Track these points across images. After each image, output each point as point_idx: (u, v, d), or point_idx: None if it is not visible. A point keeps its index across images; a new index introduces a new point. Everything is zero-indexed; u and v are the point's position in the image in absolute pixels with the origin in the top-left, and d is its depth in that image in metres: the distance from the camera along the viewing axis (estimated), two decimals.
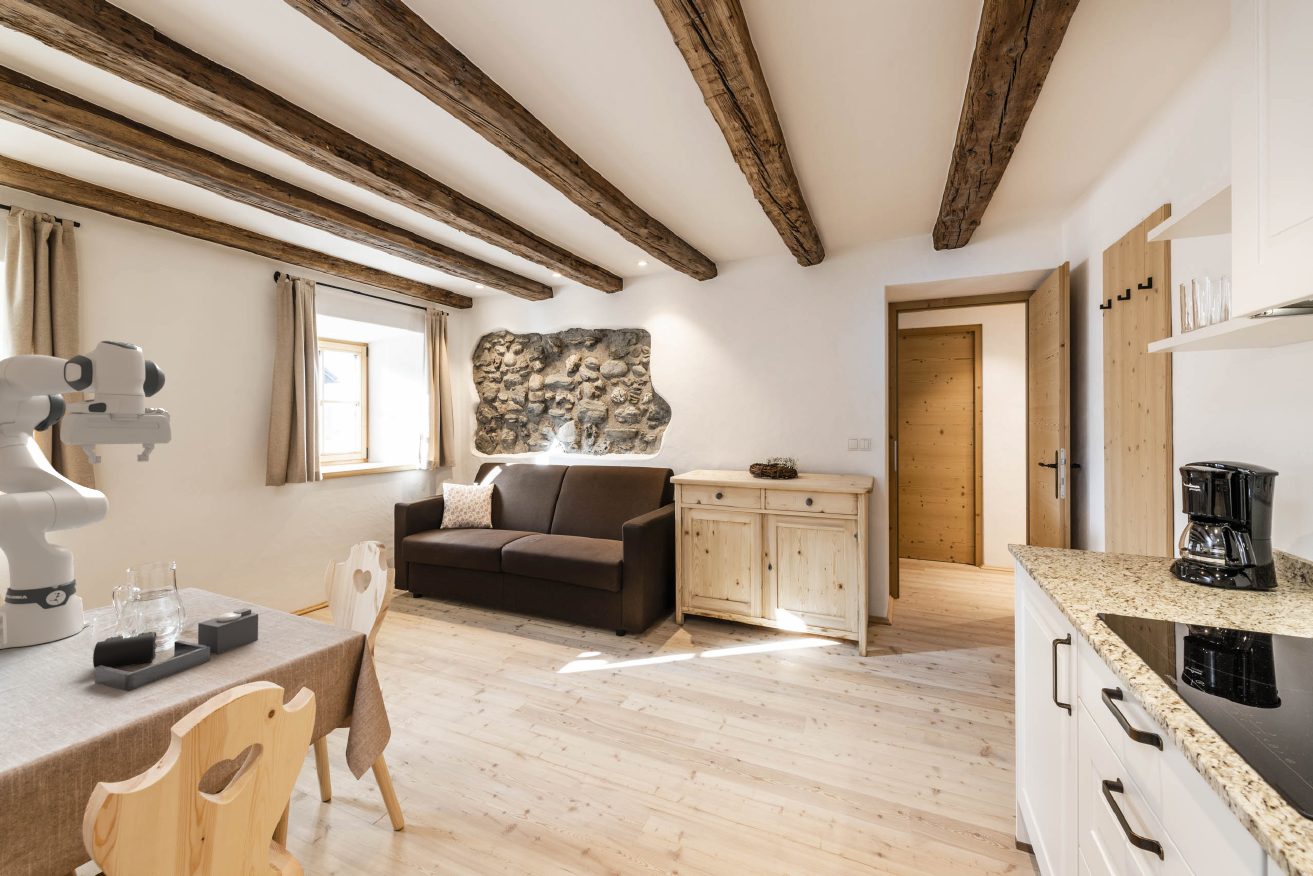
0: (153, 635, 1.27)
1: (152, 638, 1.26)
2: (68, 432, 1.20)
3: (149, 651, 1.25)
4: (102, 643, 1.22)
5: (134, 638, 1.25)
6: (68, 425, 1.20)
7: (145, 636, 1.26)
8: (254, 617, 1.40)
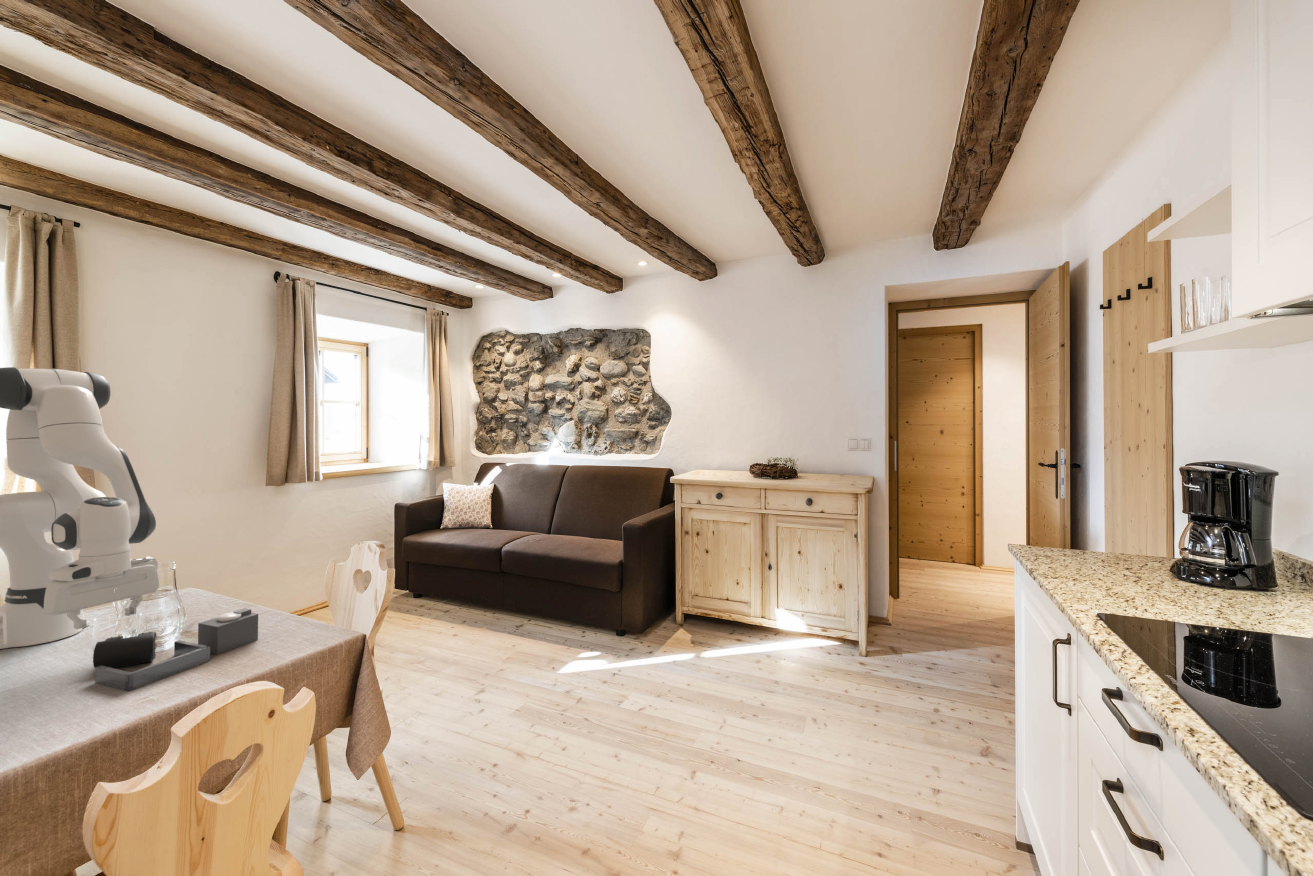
0: (153, 635, 1.27)
1: (152, 638, 1.26)
2: (51, 604, 1.17)
3: (149, 651, 1.25)
4: (102, 643, 1.22)
5: (134, 638, 1.25)
6: (51, 596, 1.18)
7: (145, 636, 1.26)
8: (254, 617, 1.40)
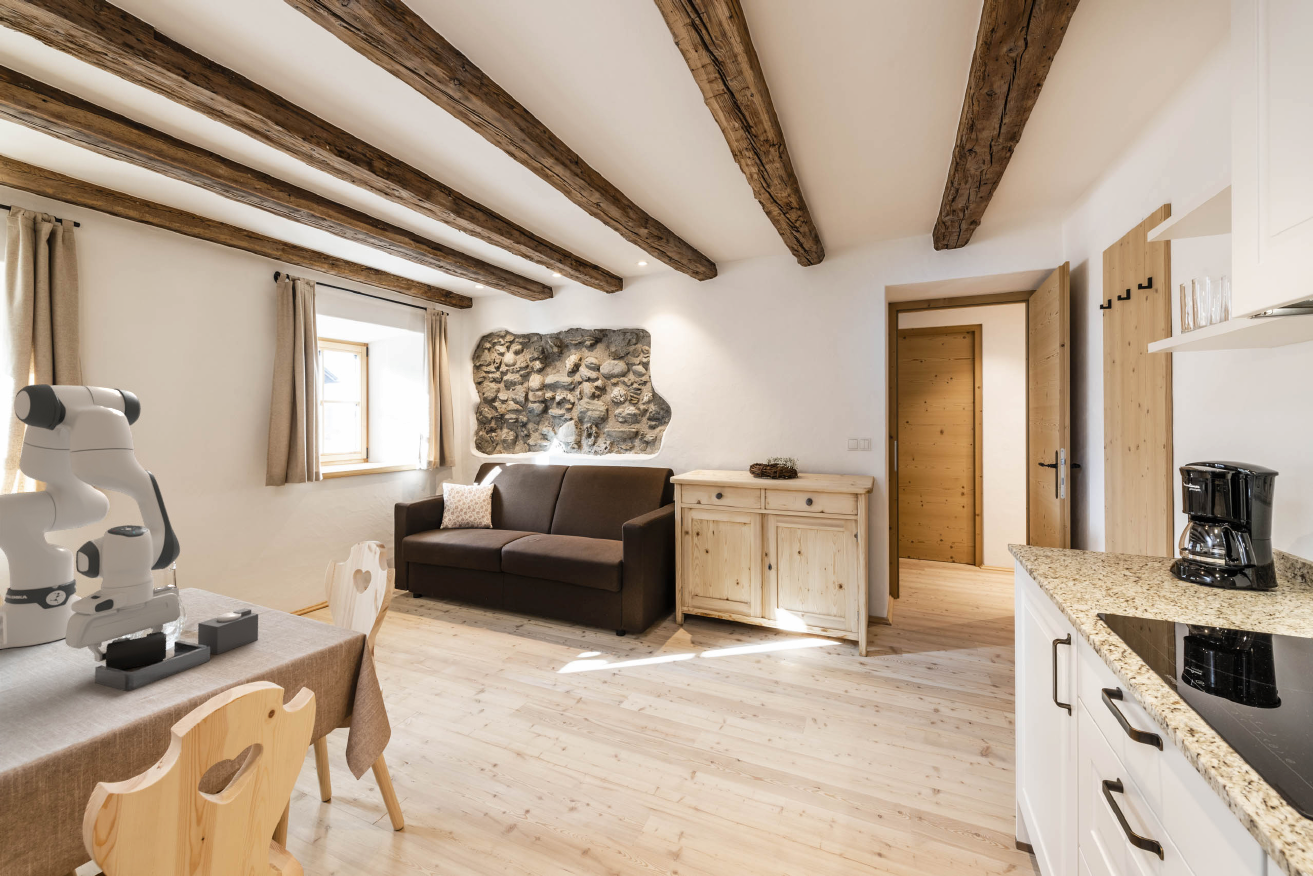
0: (164, 634, 1.27)
1: (164, 637, 1.26)
2: (74, 637, 1.15)
3: (162, 650, 1.25)
4: (113, 644, 1.21)
5: (145, 638, 1.25)
6: (73, 629, 1.15)
7: (156, 636, 1.26)
8: (254, 617, 1.40)
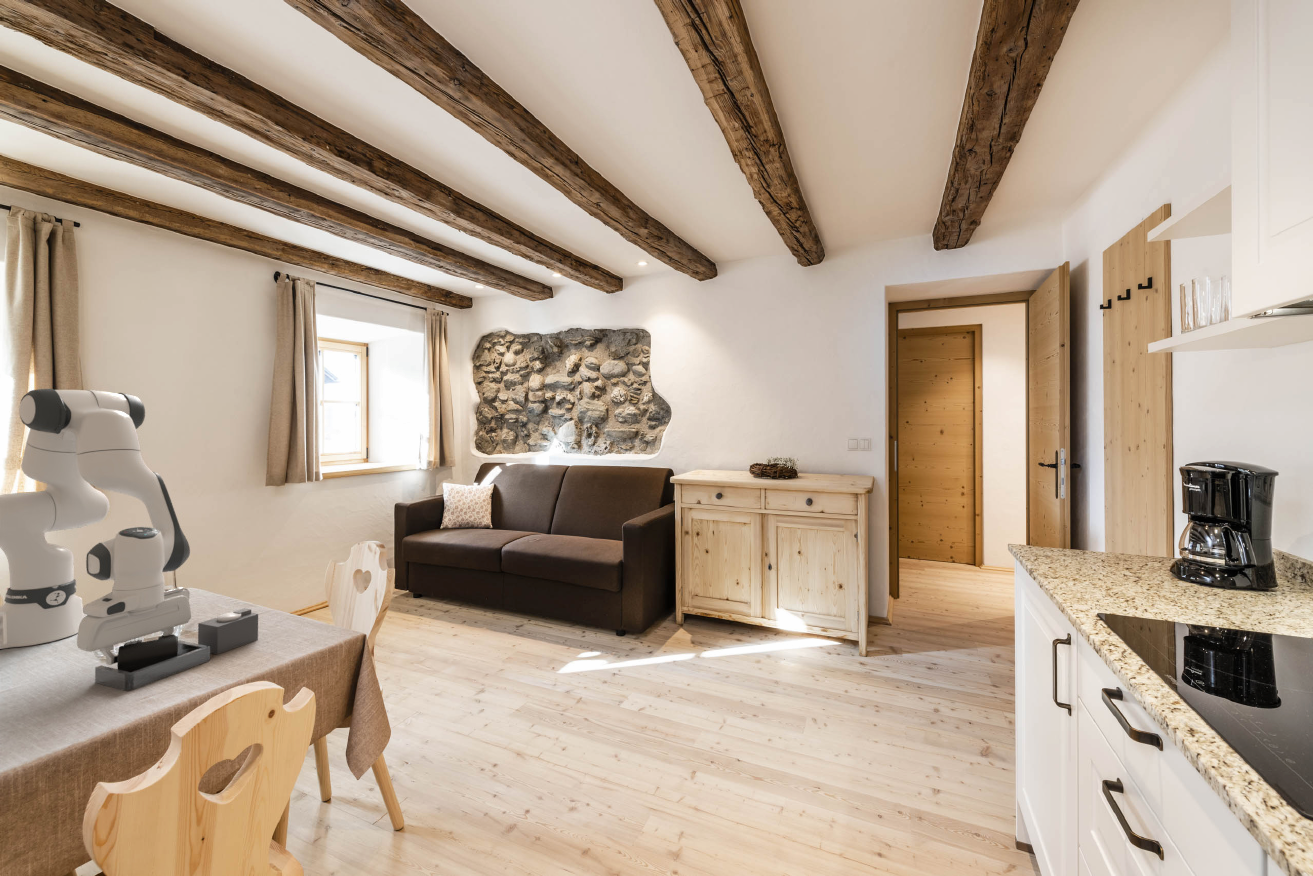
0: (176, 637, 1.26)
1: (176, 640, 1.25)
2: (85, 640, 1.14)
3: (174, 653, 1.24)
4: (125, 647, 1.20)
5: (157, 641, 1.24)
6: (85, 632, 1.14)
7: (168, 639, 1.25)
8: (254, 617, 1.40)
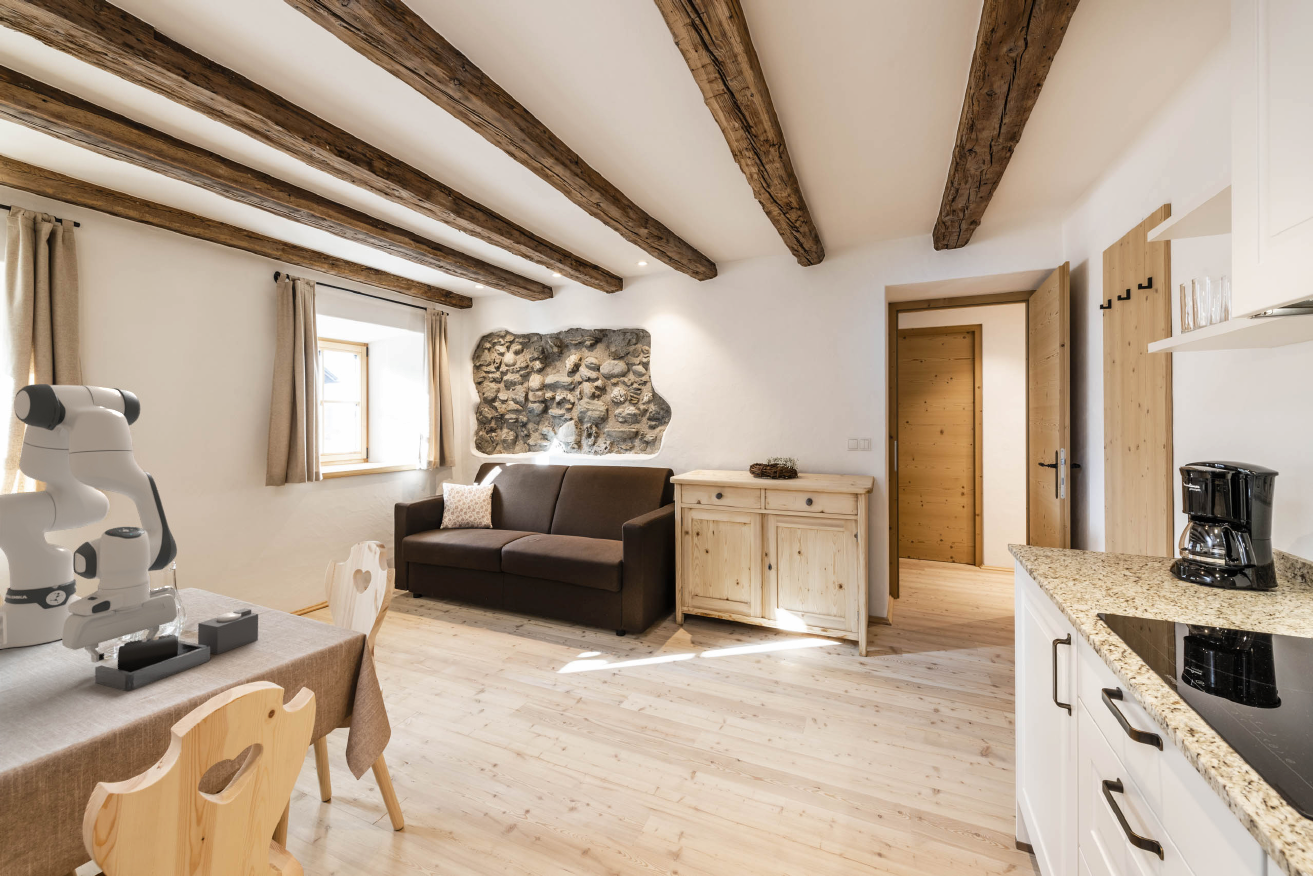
0: (176, 637, 1.26)
1: (176, 640, 1.25)
2: (70, 638, 1.16)
3: (174, 653, 1.24)
4: (125, 647, 1.20)
5: (157, 641, 1.24)
6: (70, 630, 1.16)
7: (168, 639, 1.25)
8: (254, 617, 1.40)
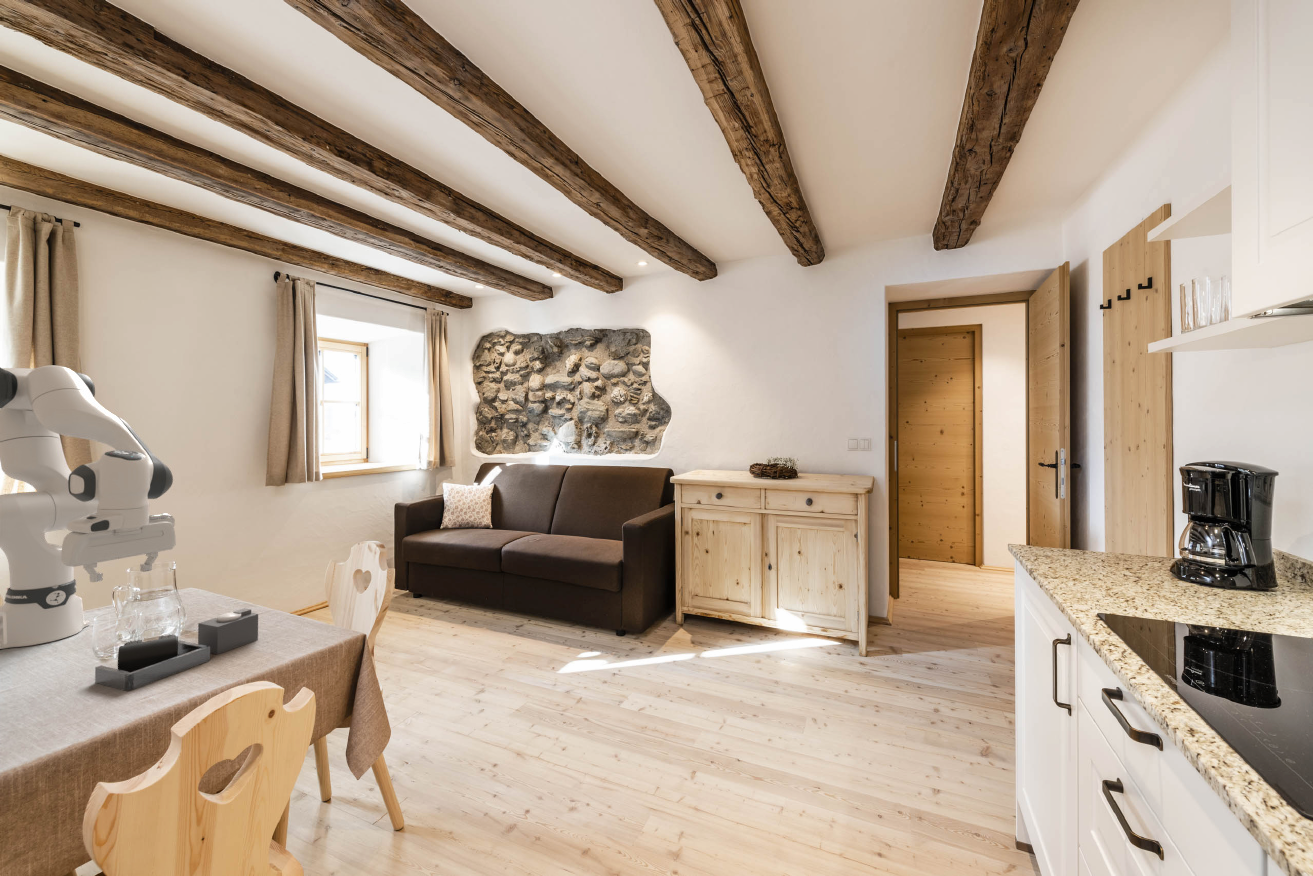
0: (176, 637, 1.26)
1: (176, 640, 1.25)
2: (69, 555, 1.16)
3: (174, 653, 1.24)
4: (125, 647, 1.20)
5: (157, 641, 1.24)
6: (69, 547, 1.16)
7: (168, 639, 1.25)
8: (254, 617, 1.40)
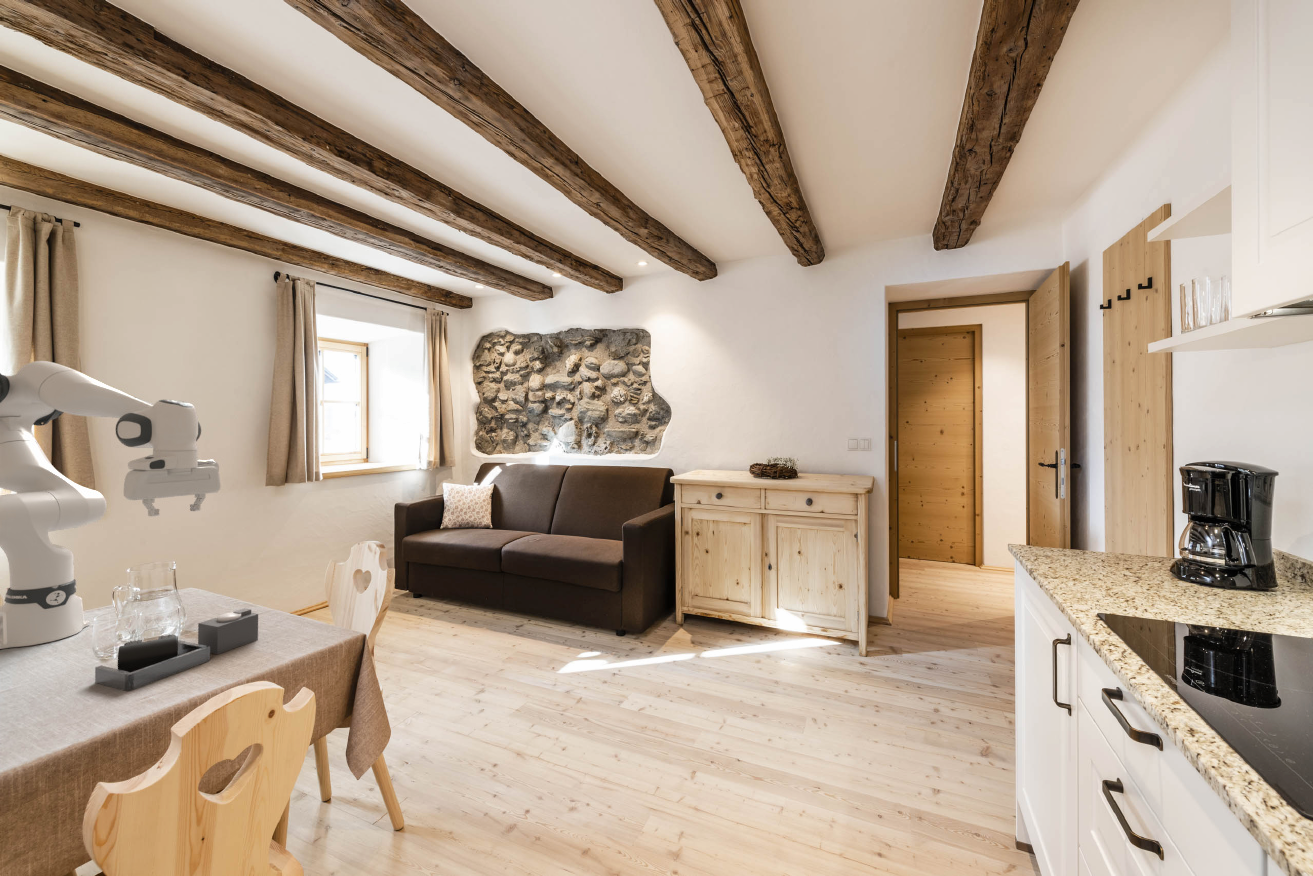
0: (176, 637, 1.26)
1: (176, 640, 1.25)
2: (131, 489, 1.29)
3: (174, 653, 1.24)
4: (125, 647, 1.20)
5: (157, 641, 1.24)
6: (131, 482, 1.29)
7: (168, 638, 1.25)
8: (254, 617, 1.40)
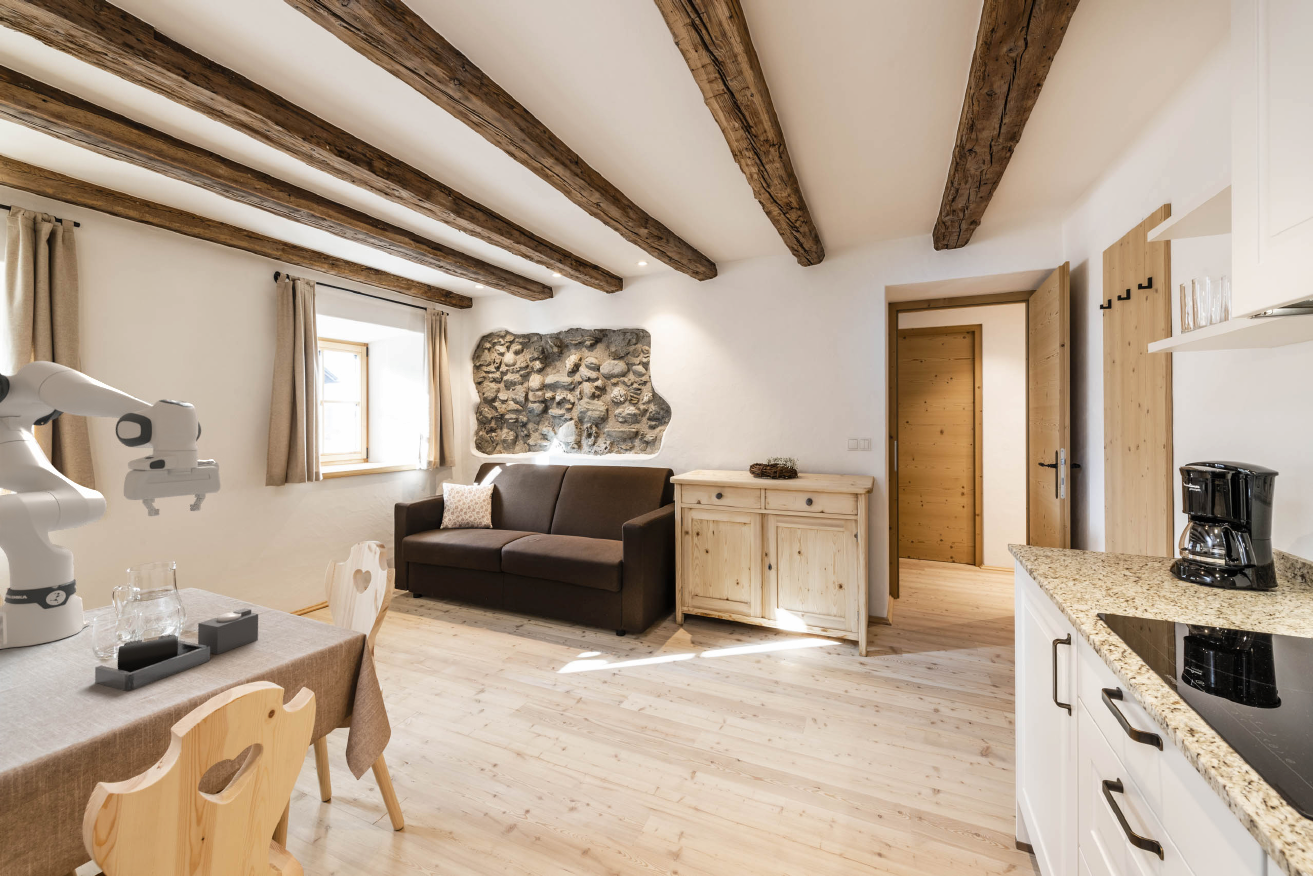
0: (176, 637, 1.26)
1: (176, 640, 1.25)
2: (131, 489, 1.29)
3: (174, 653, 1.24)
4: (125, 647, 1.20)
5: (157, 641, 1.24)
6: (131, 482, 1.29)
7: (168, 638, 1.25)
8: (254, 617, 1.40)
